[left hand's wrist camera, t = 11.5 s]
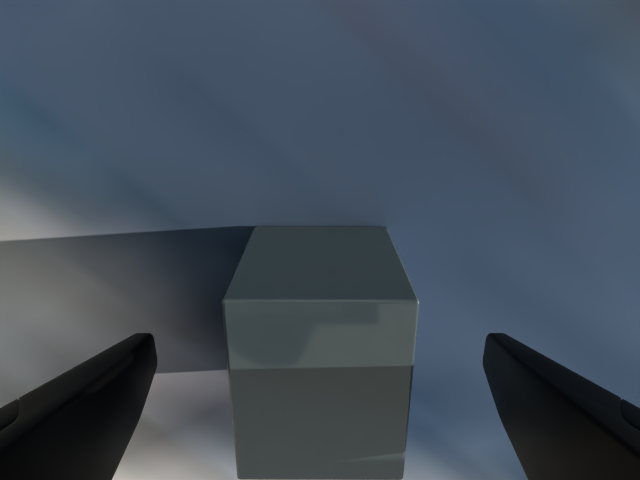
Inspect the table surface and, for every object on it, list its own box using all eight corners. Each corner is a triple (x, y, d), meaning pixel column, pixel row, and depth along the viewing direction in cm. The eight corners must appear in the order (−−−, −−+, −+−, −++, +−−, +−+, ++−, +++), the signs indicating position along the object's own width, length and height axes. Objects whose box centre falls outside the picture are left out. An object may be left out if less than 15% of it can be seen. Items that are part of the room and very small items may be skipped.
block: (387, 225, 14) (421, 300, 9) (379, 362, 15) (403, 481, 11) (253, 225, 14) (220, 299, 9) (261, 362, 15) (236, 481, 11)
